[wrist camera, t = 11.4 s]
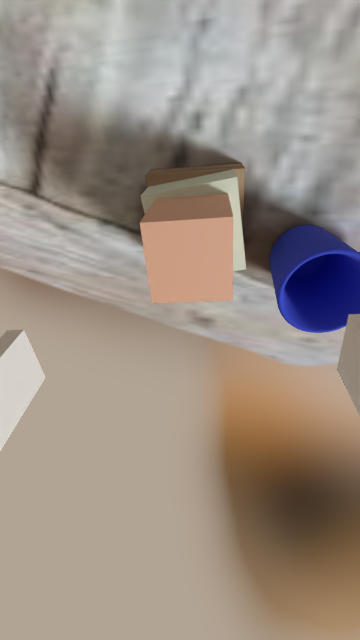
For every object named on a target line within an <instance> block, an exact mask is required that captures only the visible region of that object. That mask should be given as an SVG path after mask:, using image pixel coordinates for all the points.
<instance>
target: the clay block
mask: <svg viewBox="0 0 360 640" xmlns="http://www.w3.org/2000/svg"><path fill="white" fill-rule="evenodd" d="M140 228H141V235H142V241H143V248H144V254H145V261H146V267H147V274H148V280H149V287H150V294H151V300H152V303H171V302H199V301H227V300H233V213H232V209H231V204H230V200H229V196H228V193H227V194H213V195H200V196H186V197H172V198H159V199H155V200H154V201H153V203H152V204H151V206H150V208H149V209H148V211H147V212H146V214H145V215H144V217H143V219H142V220H141V222H140Z"/></svg>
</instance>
